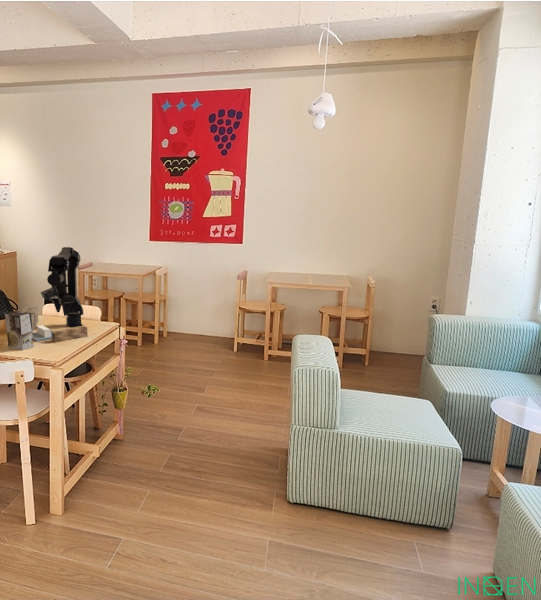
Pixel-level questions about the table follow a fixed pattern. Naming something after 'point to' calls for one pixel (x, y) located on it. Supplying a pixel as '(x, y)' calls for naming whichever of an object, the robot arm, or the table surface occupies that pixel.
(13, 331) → the coffee box
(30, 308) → the block tower
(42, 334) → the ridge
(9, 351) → the table surface
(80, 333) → the beam
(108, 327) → the table surface
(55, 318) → the table surface
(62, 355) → the table surface
